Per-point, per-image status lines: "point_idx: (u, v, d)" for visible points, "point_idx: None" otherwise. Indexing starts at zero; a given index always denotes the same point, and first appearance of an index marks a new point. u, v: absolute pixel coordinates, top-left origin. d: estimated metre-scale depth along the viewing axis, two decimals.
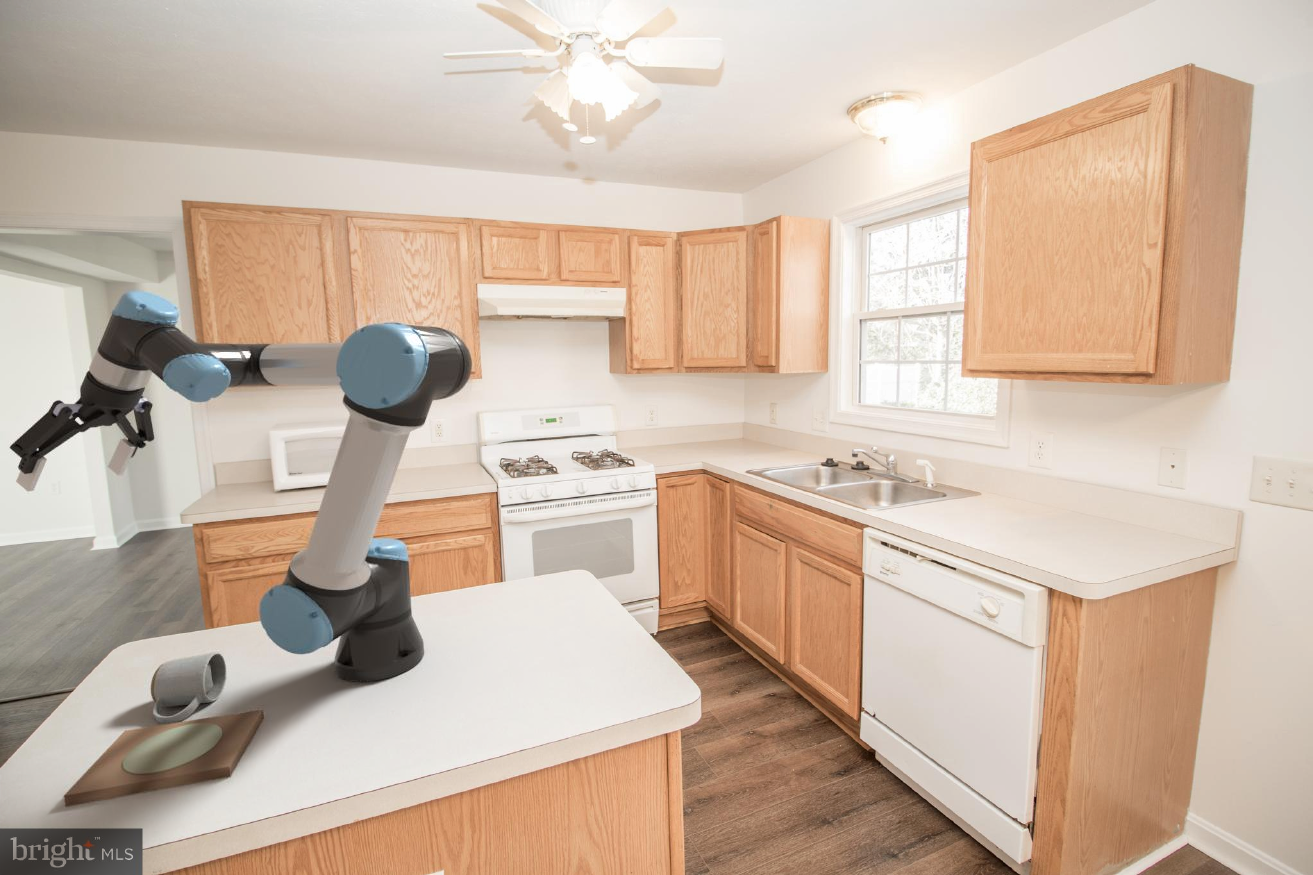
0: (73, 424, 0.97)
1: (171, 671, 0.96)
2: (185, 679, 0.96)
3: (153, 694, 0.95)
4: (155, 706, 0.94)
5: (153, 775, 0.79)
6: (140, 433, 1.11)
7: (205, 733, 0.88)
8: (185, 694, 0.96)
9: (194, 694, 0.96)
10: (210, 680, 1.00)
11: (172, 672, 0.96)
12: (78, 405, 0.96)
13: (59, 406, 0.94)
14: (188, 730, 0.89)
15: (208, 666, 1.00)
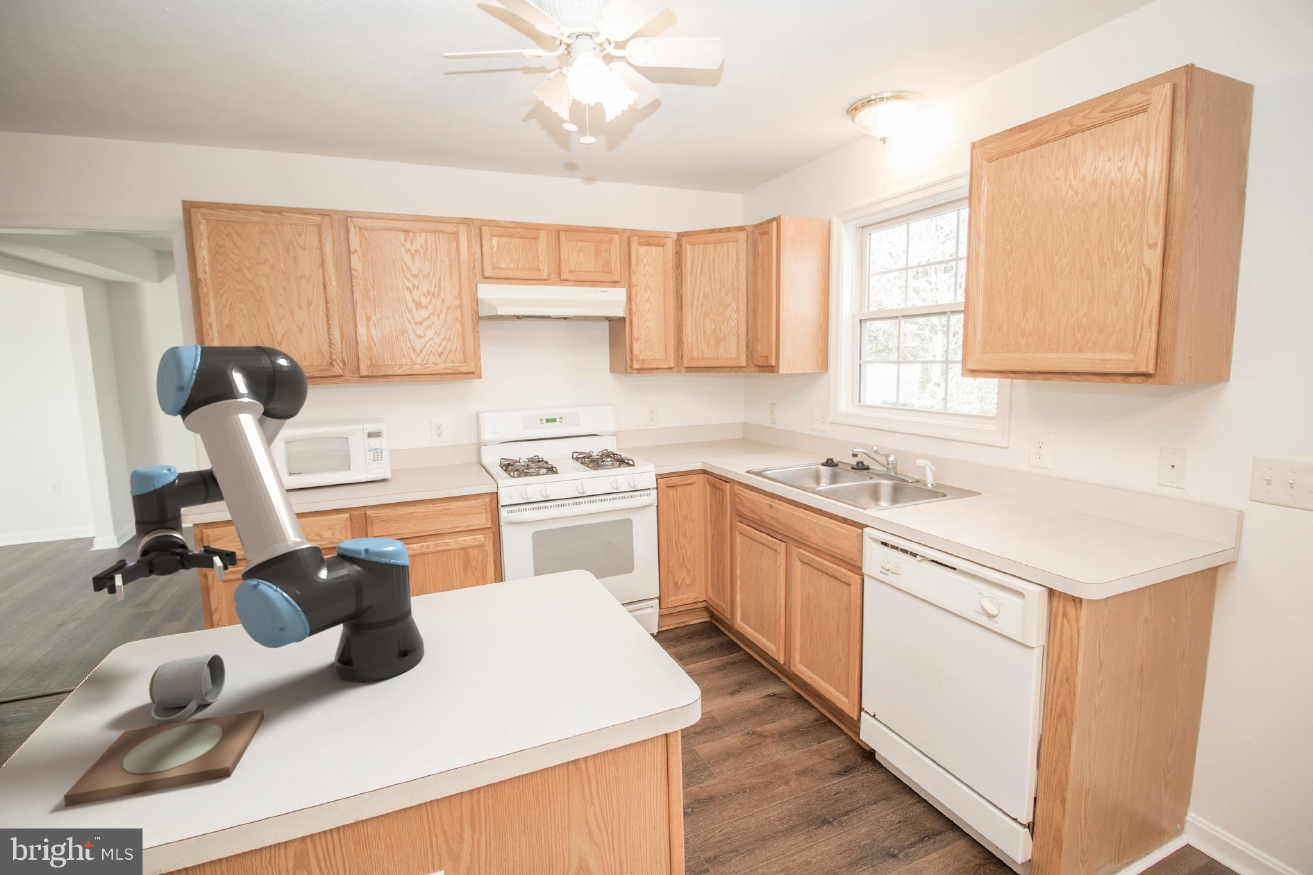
0: None
1: (170, 672, 0.96)
2: (184, 680, 0.95)
3: (151, 695, 0.95)
4: (154, 707, 0.94)
5: (153, 775, 0.79)
6: None
7: (205, 733, 0.88)
8: (184, 695, 0.95)
9: (193, 695, 0.95)
10: (209, 681, 1.00)
11: (171, 673, 0.96)
12: None
13: None
14: (188, 730, 0.89)
15: (207, 667, 1.00)
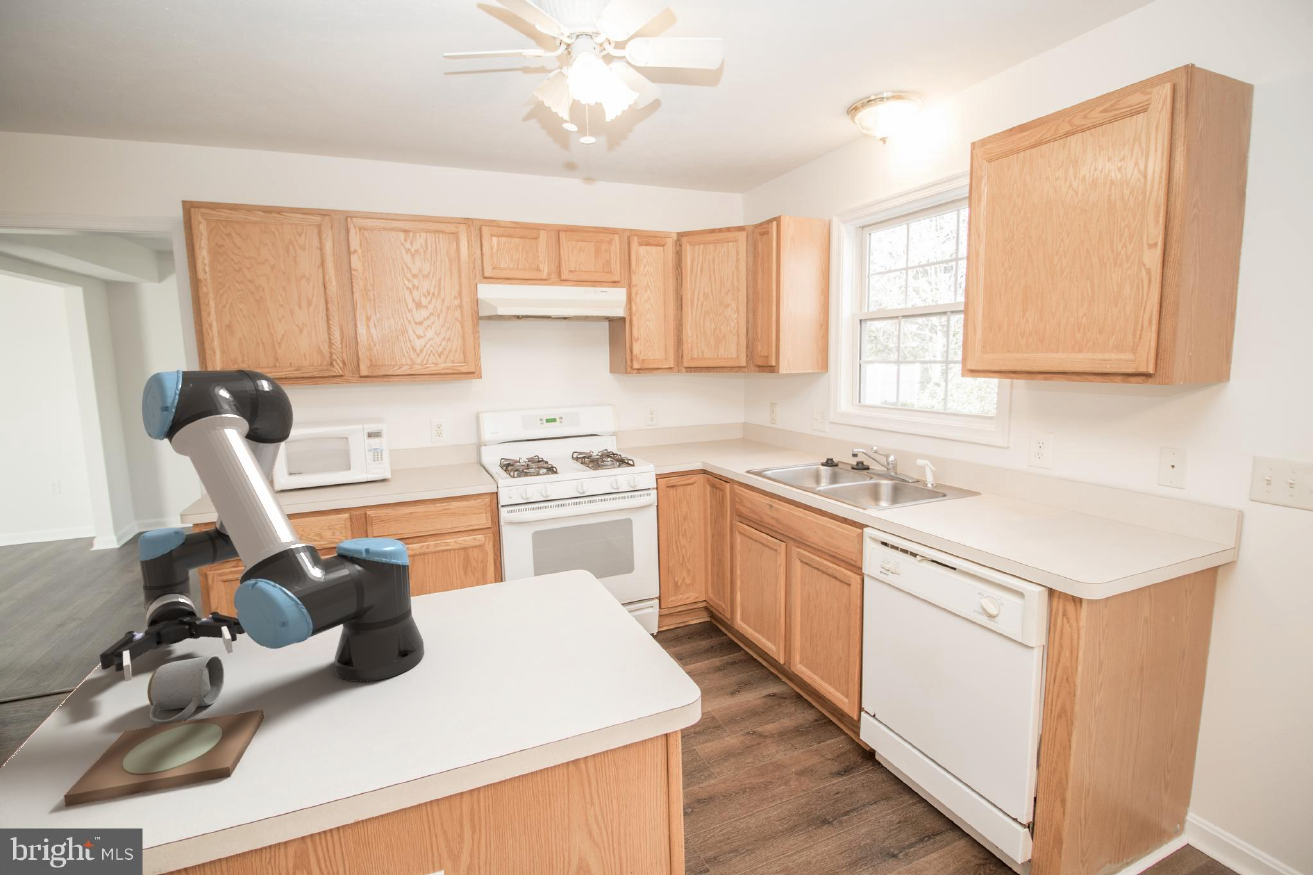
0: None
1: (168, 674, 0.95)
2: (182, 682, 0.95)
3: (149, 697, 0.94)
4: (152, 709, 0.93)
5: (153, 775, 0.79)
6: None
7: (205, 733, 0.88)
8: (182, 697, 0.95)
9: (191, 697, 0.95)
10: (207, 683, 1.00)
11: (169, 675, 0.95)
12: None
13: None
14: (188, 730, 0.89)
15: (206, 669, 0.99)
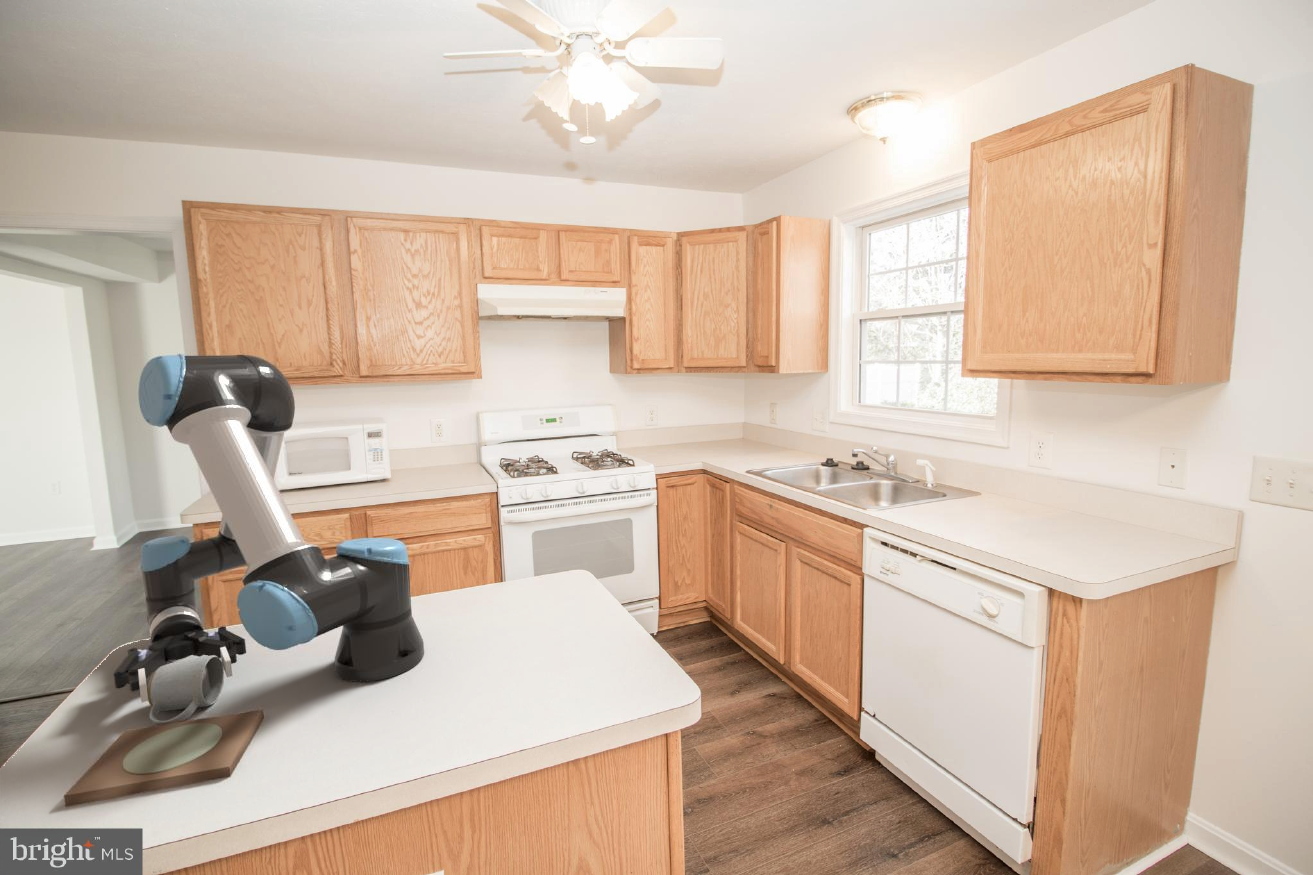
0: None
1: (168, 674, 0.95)
2: (182, 683, 0.94)
3: (149, 698, 0.94)
4: (152, 710, 0.93)
5: (153, 775, 0.79)
6: None
7: (205, 733, 0.88)
8: (182, 698, 0.94)
9: (191, 698, 0.95)
10: (207, 683, 0.99)
11: (169, 676, 0.95)
12: None
13: None
14: (188, 730, 0.89)
15: (205, 669, 0.99)
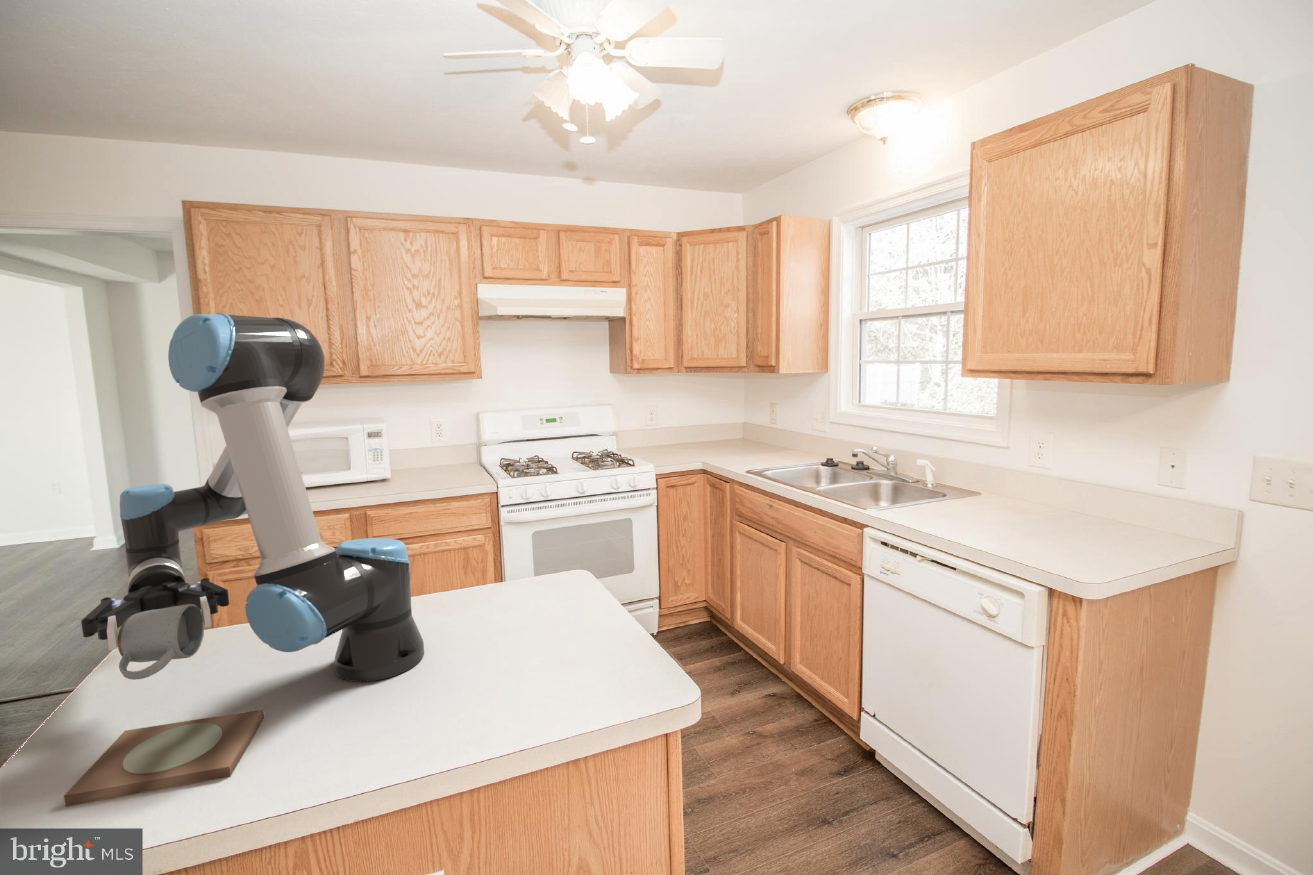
0: None
1: (140, 622, 0.86)
2: (155, 631, 0.86)
3: (119, 647, 0.85)
4: (122, 660, 0.84)
5: (153, 775, 0.79)
6: None
7: (205, 733, 0.88)
8: (155, 648, 0.86)
9: (166, 648, 0.86)
10: (185, 635, 0.91)
11: (142, 623, 0.86)
12: None
13: None
14: (188, 730, 0.89)
15: (183, 619, 0.90)
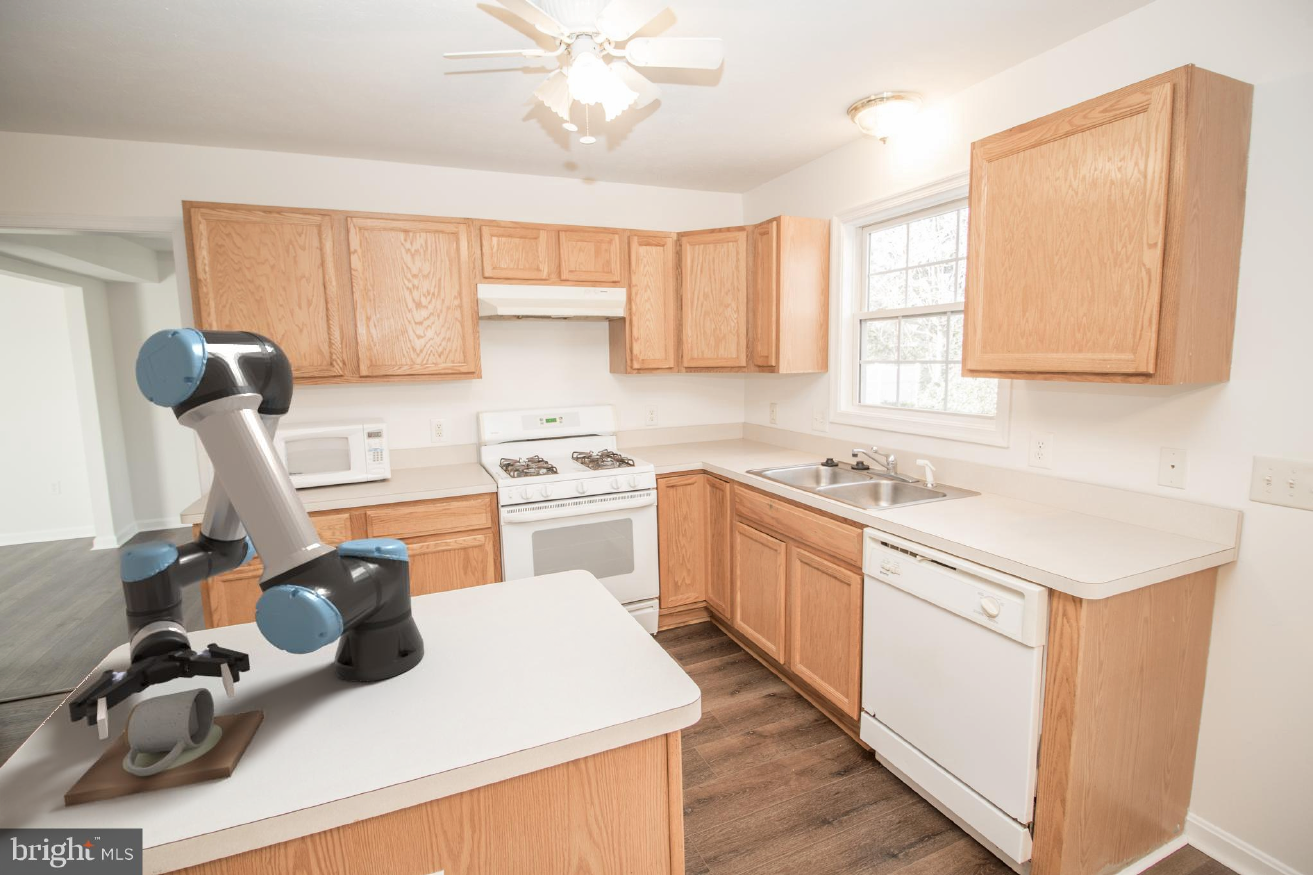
0: None
1: (149, 712, 0.82)
2: (165, 722, 0.81)
3: (126, 740, 0.80)
4: (129, 755, 0.80)
5: (153, 775, 0.79)
6: None
7: None
8: (165, 739, 0.81)
9: (176, 739, 0.81)
10: (195, 721, 0.86)
11: (150, 714, 0.82)
12: None
13: None
14: None
15: (193, 704, 0.86)
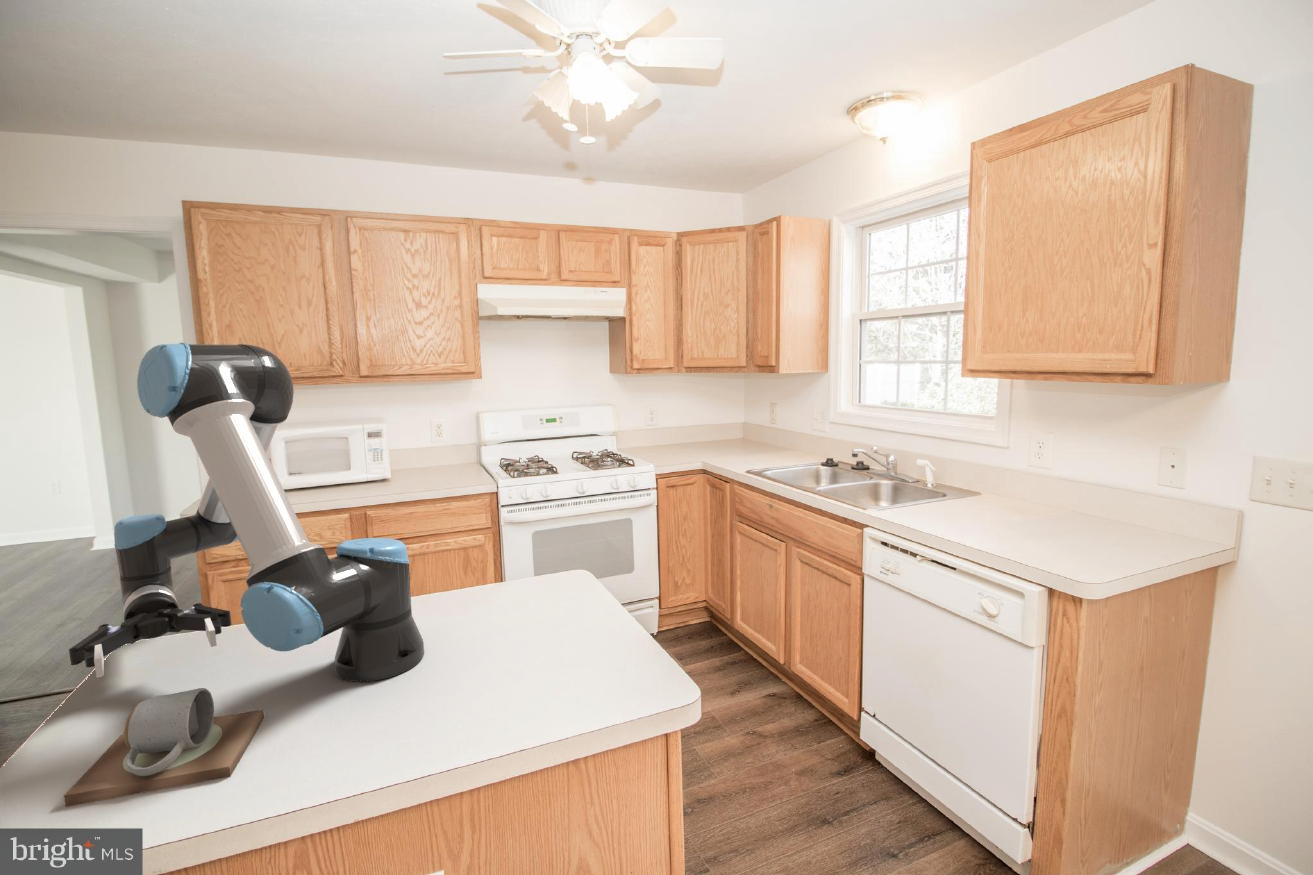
0: None
1: (149, 712, 0.82)
2: (165, 722, 0.81)
3: (126, 740, 0.80)
4: (129, 755, 0.80)
5: (153, 775, 0.79)
6: None
7: None
8: (165, 739, 0.81)
9: (176, 739, 0.81)
10: (195, 721, 0.86)
11: (150, 714, 0.82)
12: None
13: None
14: None
15: (193, 704, 0.86)
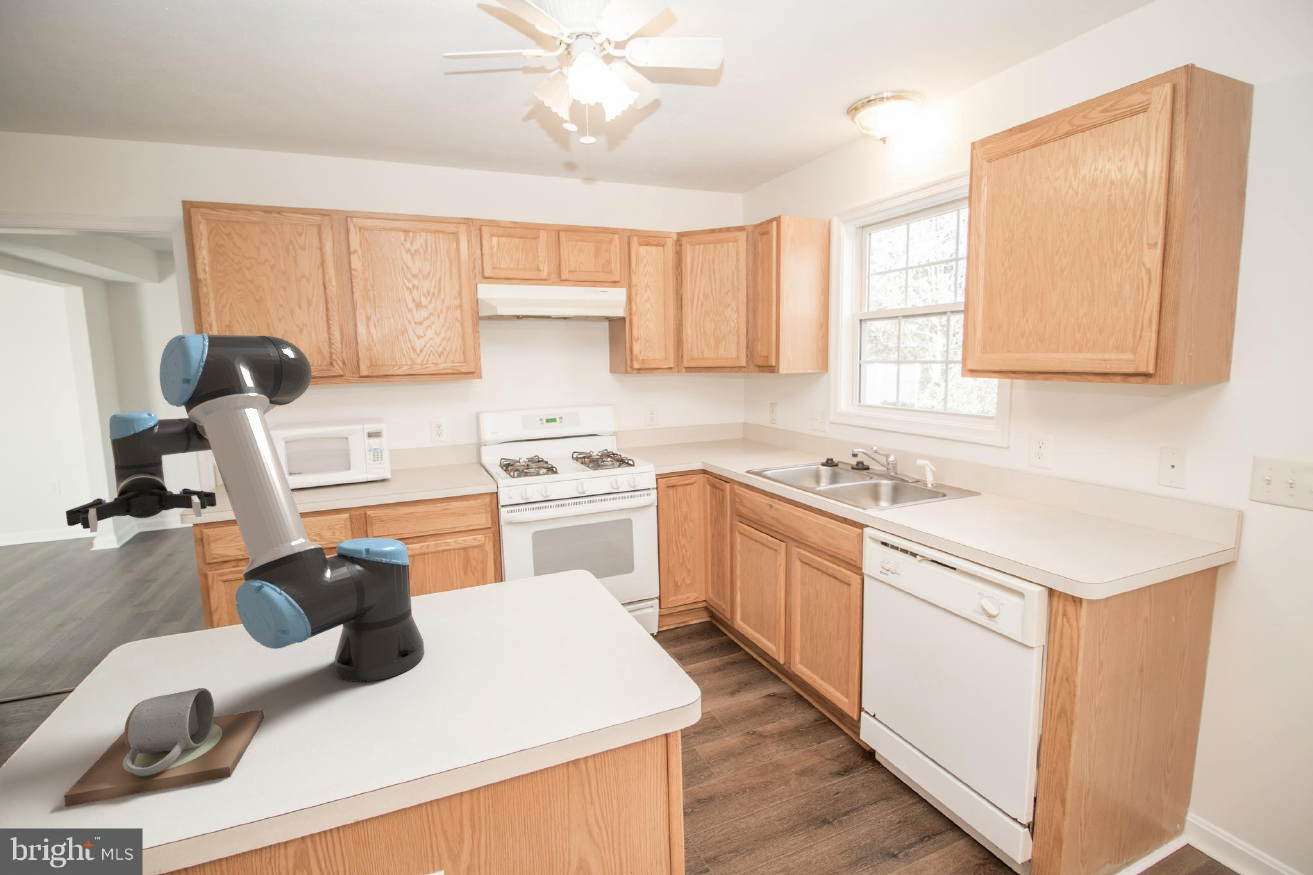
0: None
1: (149, 712, 0.82)
2: (165, 722, 0.81)
3: (126, 740, 0.80)
4: (129, 755, 0.80)
5: (153, 775, 0.79)
6: None
7: None
8: (165, 739, 0.81)
9: (176, 739, 0.81)
10: (195, 721, 0.86)
11: (150, 714, 0.82)
12: None
13: None
14: None
15: (193, 704, 0.86)
